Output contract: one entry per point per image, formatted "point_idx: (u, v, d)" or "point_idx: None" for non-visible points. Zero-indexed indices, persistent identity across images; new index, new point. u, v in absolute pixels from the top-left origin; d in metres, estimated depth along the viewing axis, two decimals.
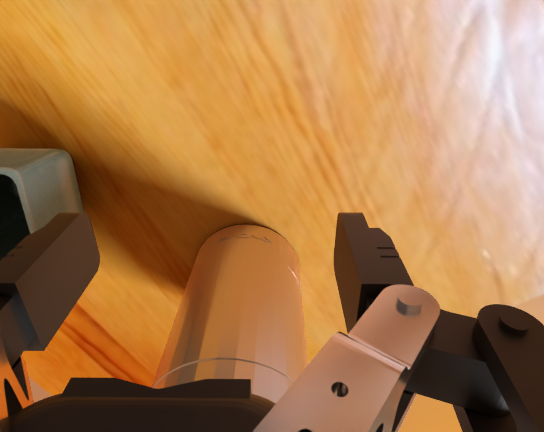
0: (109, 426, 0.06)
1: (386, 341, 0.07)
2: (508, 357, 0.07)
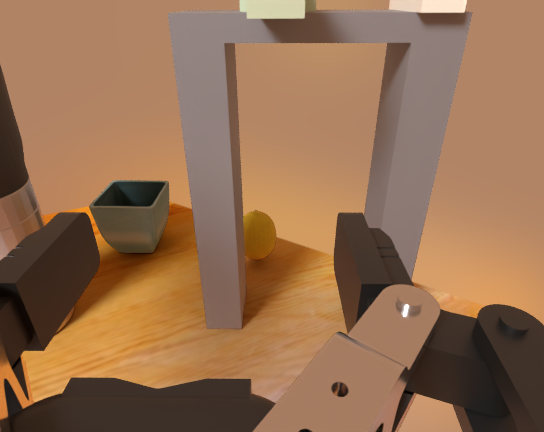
0: (109, 426, 0.06)
1: (386, 341, 0.07)
2: (508, 357, 0.07)
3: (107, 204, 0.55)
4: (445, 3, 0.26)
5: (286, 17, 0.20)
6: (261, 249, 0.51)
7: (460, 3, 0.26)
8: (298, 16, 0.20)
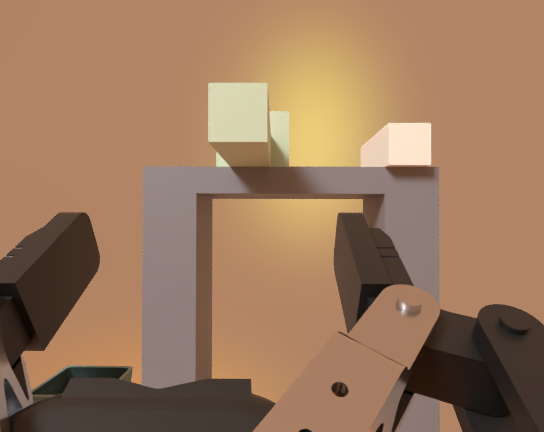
0: (109, 426, 0.06)
1: (386, 341, 0.07)
2: (508, 357, 0.07)
3: (51, 395, 0.45)
4: (410, 157, 0.27)
5: (248, 140, 0.19)
6: None
7: (425, 157, 0.27)
8: (261, 140, 0.19)
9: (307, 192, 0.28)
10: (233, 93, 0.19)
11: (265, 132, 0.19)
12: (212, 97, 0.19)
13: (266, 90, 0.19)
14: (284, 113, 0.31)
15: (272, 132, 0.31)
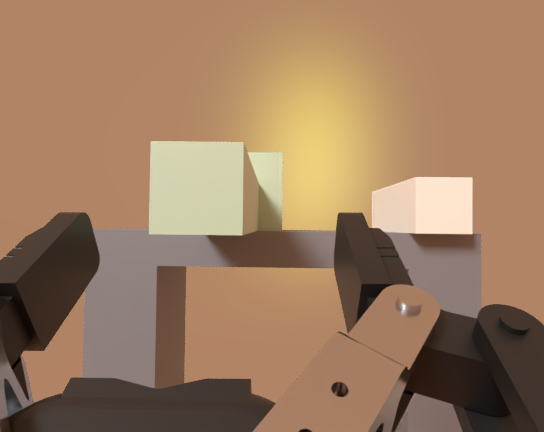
0: (109, 426, 0.06)
1: (386, 341, 0.07)
2: (508, 357, 0.07)
3: None
4: (445, 223, 0.20)
5: (213, 233, 0.12)
6: None
7: (464, 223, 0.20)
8: (232, 232, 0.12)
9: (305, 266, 0.21)
10: (189, 158, 0.12)
11: (239, 220, 0.12)
12: (156, 164, 0.12)
13: (242, 154, 0.12)
14: (276, 155, 0.24)
15: (261, 179, 0.24)
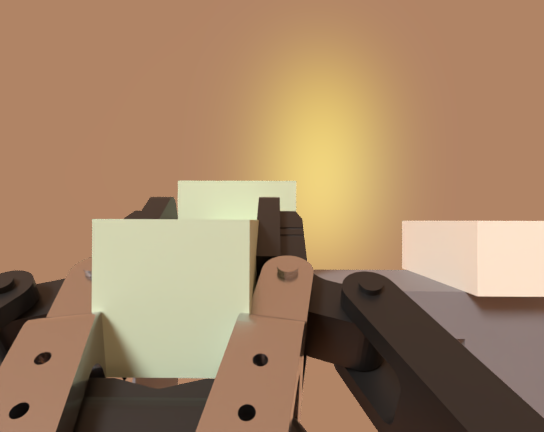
0: (109, 426, 0.06)
1: (253, 301, 0.08)
2: (375, 317, 0.07)
3: None
4: (517, 283, 0.15)
5: (199, 376, 0.07)
6: None
7: (543, 282, 0.15)
8: None
9: None
10: (158, 248, 0.07)
11: None
12: (102, 259, 0.07)
13: (247, 239, 0.07)
14: (288, 184, 0.19)
15: None
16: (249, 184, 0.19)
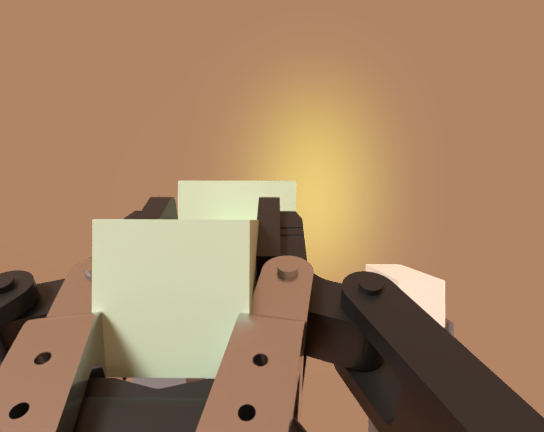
0: (109, 426, 0.06)
1: (253, 301, 0.08)
2: (375, 317, 0.07)
3: None
4: None
5: (199, 376, 0.07)
6: None
7: (438, 318, 0.24)
8: None
9: None
10: (158, 248, 0.07)
11: None
12: (102, 259, 0.07)
13: (247, 239, 0.07)
14: (288, 184, 0.19)
15: None
16: (249, 184, 0.19)
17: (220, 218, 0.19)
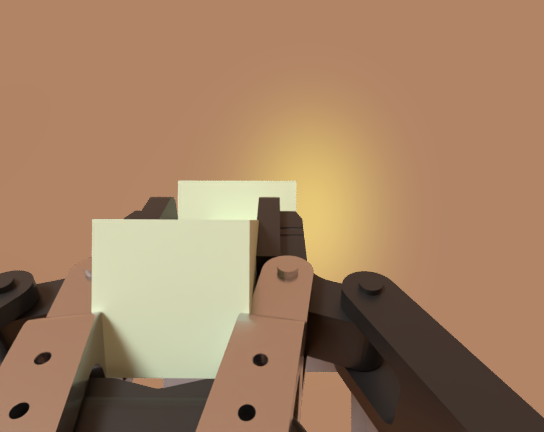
0: (109, 426, 0.06)
1: (253, 301, 0.08)
2: (375, 317, 0.07)
3: None
4: None
5: (199, 376, 0.07)
6: None
7: None
8: None
9: None
10: (158, 248, 0.07)
11: None
12: (102, 259, 0.07)
13: (247, 239, 0.07)
14: (288, 184, 0.19)
15: None
16: (249, 184, 0.19)
17: (220, 218, 0.19)
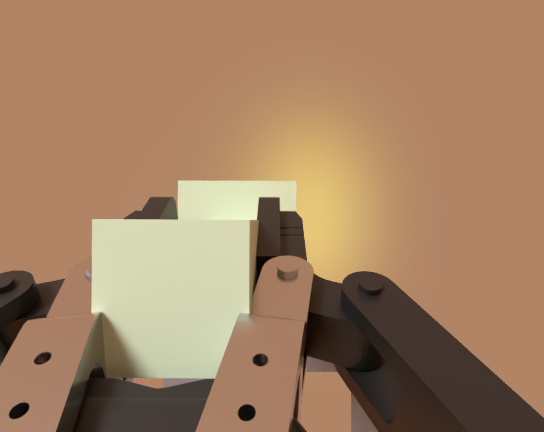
0: (109, 426, 0.06)
1: (253, 301, 0.08)
2: (375, 317, 0.07)
3: None
4: None
5: (199, 376, 0.07)
6: None
7: None
8: None
9: None
10: (158, 248, 0.07)
11: None
12: (102, 259, 0.07)
13: (247, 239, 0.07)
14: (288, 184, 0.19)
15: None
16: (249, 184, 0.19)
17: (220, 218, 0.19)
